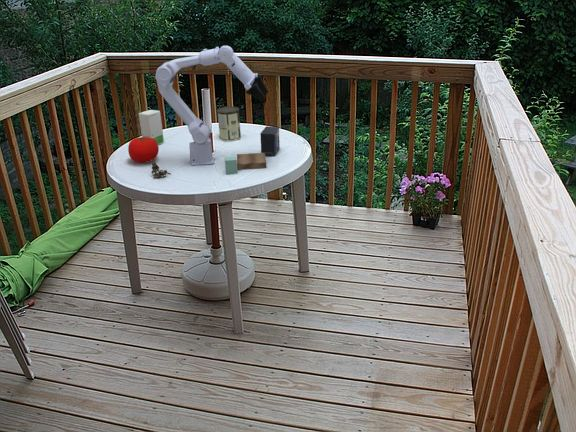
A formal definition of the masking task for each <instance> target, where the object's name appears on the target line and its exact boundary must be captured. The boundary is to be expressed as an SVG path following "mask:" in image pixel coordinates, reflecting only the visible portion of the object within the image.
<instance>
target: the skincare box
mask: <svg viewBox="0 0 576 432" xmlns="http://www.w3.org/2000/svg"><path fill="white" fill-rule="evenodd" d="M138 119H139V125H140V133H141V137H149V138H153V139H154V140H156V142H157V144H158V146H160V145H162V144H164V143H165V141H164V140H165V139H164V131H163V125H162V116H161V111H160V110H156V109H155V110H154V109H148V110H145V111H142V112H139V113H138Z"/></svg>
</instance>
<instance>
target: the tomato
mask: <svg viewBox="0 0 576 432" xmlns="http://www.w3.org/2000/svg"><path fill="white" fill-rule="evenodd" d="M127 147H128V148H127V151H128V155H129V157H130V159H131V160H132V161H133V162H136V163H140V164H141V163H142V164H143V163H144V164H145V163H149V162H152V161H154V160H155V159H156V158H157V157H158V155H159V151H160V150H159V145H158V144H157V142H156V140H154V139H153V138H149V137H142V136H140V137H135V138H133V139H131V140H130V141H129V143H128V146H127Z"/></svg>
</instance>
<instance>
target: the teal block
mask: <svg viewBox="0 0 576 432" xmlns="http://www.w3.org/2000/svg"><path fill="white" fill-rule="evenodd" d="M224 164H225V166H224V167H225V174H226V175H238V170H237V155H232V156H231V155H230V156H224Z"/></svg>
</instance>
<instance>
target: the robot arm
mask: <svg viewBox="0 0 576 432" xmlns="http://www.w3.org/2000/svg"><path fill="white" fill-rule="evenodd" d="M219 47H220V46H216V47H215V48H212V49H207V48H204V49H203V50H202V51H200V53H199V54H198V55H192V56H187V57H186V56H185V57H180V58H176V59H172V60H170V61H165V62H164V63H162V65H160V66H158V68H157V69H156V70H155V71H156V72H155V77H154V78H155V80H156V85H157V87H158V93H159V94H160V95H161V96H162V97H163V99H164V100H165V101H166V102H167V104H168V105H169V106H170V107H171V108H172V109H173V111H174V112H175V114H177V115H178V117H179V118H180V119H181V120H182V121H183V122H184V123H185V125H186V126H187V129H188V132H189V133H190V135H191V137H192V140H193V142H192V141H191V142H189V146H188V147H189V159H190V165H191V166H201V165H214V164H215V163H214V162H215V157H214V156H213V148H212V147H213V146H212V140H211V138H210V135H211V133H212V129H211V127H210V126H209V125H208V124H207V123H205V122H204V121H203V120H201V119H200V118H198V117H197V116H196V115H195V114H194V112H193V111H192V110H191V109H190V107H189V106H188V105H187V104H186V103H185V101H184V100H183V99H182V98H181V96H180V95H179V94H178V93H177V92H176V90H175V89H174V88H173V84H174V79H175V77H176V75H177V72H179V71H180V70H181V69H183V68H187V67H191V66H195V65H199V64H200V65H202V66H204V67H206V66H212V65H216V64H220V63H221V64H224V65H225V66H226V67H227V68H228V69H229V70H230V71H231V72H232V73H233V74H234V76H236V77H237V79H238V80H239V81H240V82H241V83H242V84H243V86H244V89H246V91H245V93H246V94H247V95H250V96H252V97H254V98H255V99H258V100H259V101H260V102H263V101H265V99H266V95H267V94H268V93H269V90H268V88H267V87H266V85H265V83H264V81H263V77H262V75H261V74H260V75H258V73H257V72H256V73H255V72H253V71H252V70H251V69H250V68H249V67H248V66H247V65H246V64H245V63H244V62H243V60H241V58H240V57H239V56H237V54H236V53H235V52H234V50H233V48H232V47H231V46H229V45H222V46H221V47H220V48H219Z"/></svg>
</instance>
